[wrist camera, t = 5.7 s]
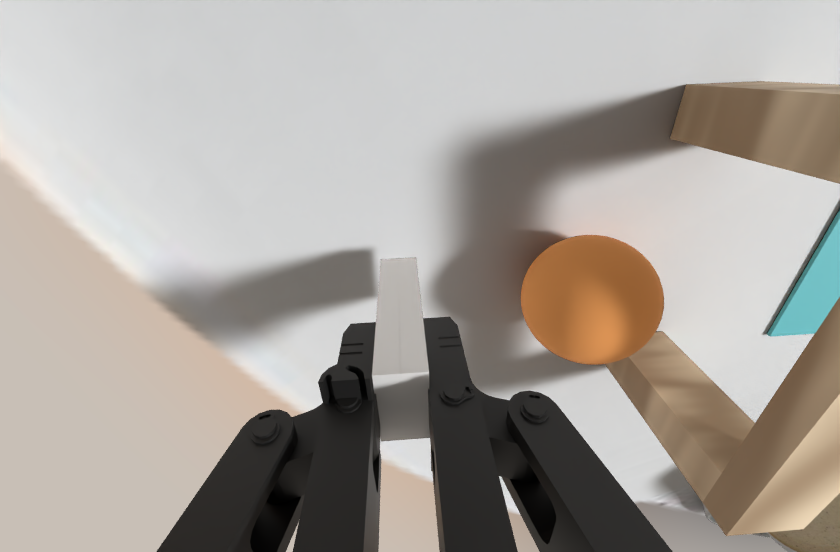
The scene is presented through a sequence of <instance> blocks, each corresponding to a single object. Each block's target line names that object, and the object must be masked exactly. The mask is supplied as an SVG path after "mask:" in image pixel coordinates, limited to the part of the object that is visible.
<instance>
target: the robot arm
mask: <svg viewBox="0 0 840 552" xmlns="http://www.w3.org/2000/svg"><path fill="white" fill-rule="evenodd" d="M318 383H319V387H320V392H321V396H322V400H323V403H322V404H321V405H320V406H318V407H317V408H315V409H313V410H311V411H308V412H306V413H303V414H300V415H297V416H294V417H291V416H290V415H289V414H288V413H287V412H284V411H282V410H269V411H265V412H262V413H259V414H258V415H256V416H255V417H253V418H251V419H250V420H249V421H248V422H247V423H246V424H245V425H244V426H243V427H242V429H241V430H240V432H239V433H238V435H237V436H236V437H235V439H234V440H233V442H232V443H231V445H230V446H229V448H228V449H227V450H226V452H225V454H224V455H223V456H222V458H221V459H220V461H219V462H218V463H217V465H216V467H215V468H214V469H213V471H212V472H211V474H210V475H209V477H208V478H207V480H206V481H205V482H204V484H203V485H202V487H201V488H200V490H199V491H198V492H197V494H196V495H195V497H194V498H193V500H192V501H191V503H190V504H189V505H188V507H187V508H186V510H185V511H184V513H183V514H182V516H181V517H180V518H179V520H178V521H177V523H176V524H175V526H174V527H173V529H172V530H171V531H170V533H169V535H168V536H167V537H166V539H165V540H164V542H163V543H162V544H161V546H160V548H159V549H158V550H157V552H286V550H287V547H288V545H289V543H290V540H291V538H292V536H293V533H294V531H295V528H296V526H297V524H298V522H299V525H298V529H297V534H296V539H295V544H294V548H293V552H378V545H379V512H380V482H381V481H380V480H381V454H380V438H381V441H391V440H405V439H418V438H430V441H431V471H433V482H434V494H435V505H436V516H437V526H438V537H439V549H440V552H518V551H517V547H516V543H515V539H514V535H513V531H512V527H511V523H510V519H509V515H508V511H507V507H506V503H505V499H504V495H503V491H502V487H501V483H500V479H499V476H501V477H502V479H503V481H504V483H505V485H506V487H507V489H508V491H509V493H510V494H511V496H512V498H513V500H514V502H515V504H516V506H517V508H518V510H519V512H520V514H521V516H522V518H523V520H524V522H525V524H526V526H527V528H528V530H529V531H530V534H531V536H532V537H533V539H534V541H535V543H536V545H537V547H538V549H539V551H540V552H672V550H671V549H670V548H669V547H668V545H667V544H666V543H665V542H664V540H663V539H662V538H661V537H660V535H659V534H658V533H657V531H656V530H655V529H654V528H653V526H652V525H651V524H650V522H649V521H648V520H647V519H646V517H645V516H644V515H643V514H642V513H641V511H640V510H639V509H638V507H637V506H636V505H635V503H634V502H633V501H632V500H631V498H630V497H629V496H628V495H627V493H626V492H625V491H624V489H623V488H622V487H621V486H620V484H619V483H618V482H617V481H616V479H615V478H614V477H613V475H612V474H611V473H610V472H609V470H608V469H607V468H606V467H605V465H604V464H603V463H602V461H601V460H600V459H599V458H598V456H597V455H596V454H595V453H594V451H593V450H592V449H591V448H590V446H589V445H588V444H587V442H586V441H585V440H584V439H583V437H582V436H581V435H580V434H579V432H578V431H577V430H576V428H575V427H574V426H573V425H572V423H571V422H570V421H569V420H568V418H567V417H566V416H565V414H564V413H563V412H562V411H561V409H560V408H559V407H558V406H557V404H556V403H555V402H553V401H552V400H551V399H550V398H549V397H547V396H545V395H543V394H541V393H538V392H533V391H523V392H519V393H517V394H515V395H513V397H512V398H511V399H510V401H509V400H504V399H499V398H495V397H491V396H488V395H486V394H484V393H482V392H481V391H479V390H478V389H477V388H476V387H475V386H474V384H473V383H472V381H471V379H470V375H469V371H468V367H467V363H466V359H465V355H464V350H463V346H462V342H461V338H460V334H459V330H458V326H457V324H456V323H455V322H454V321H453V320H452V319H451V318H450V317H440V318H423V313H422V304H421V295H420V286H419V277H418V268H417V259H416V257H414V258H396V259H381V261H380V274H379V288H378V301H377V315H376V322H373V323H357V324H350V326H349V327H348V328H347V329H346V331H345V332H344V333H343V337H342V343H341V348H340V355H339V358H338V363H337V364H336V365H334V366H332V367H330V368H328V369H327V370H326V371H325V372H324V373H323V374H322V375H321V377H320V379H319V381H318ZM299 519H300V520H299Z"/></svg>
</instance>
